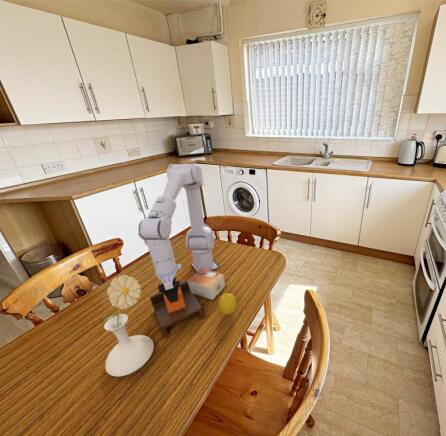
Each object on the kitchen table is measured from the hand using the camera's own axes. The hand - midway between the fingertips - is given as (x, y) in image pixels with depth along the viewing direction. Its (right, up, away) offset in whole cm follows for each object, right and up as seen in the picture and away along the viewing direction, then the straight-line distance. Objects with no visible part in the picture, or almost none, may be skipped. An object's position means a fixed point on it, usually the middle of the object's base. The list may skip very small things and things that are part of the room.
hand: (173, 293), depth 74 cm
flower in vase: (-6, -15, -9) cm, 18 cm away
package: (0, -5, +2) cm, 5 cm away
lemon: (+17, -8, +4) cm, 19 cm away
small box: (+12, -1, +11) cm, 16 cm away
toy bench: (0, -8, +4) cm, 9 cm away
